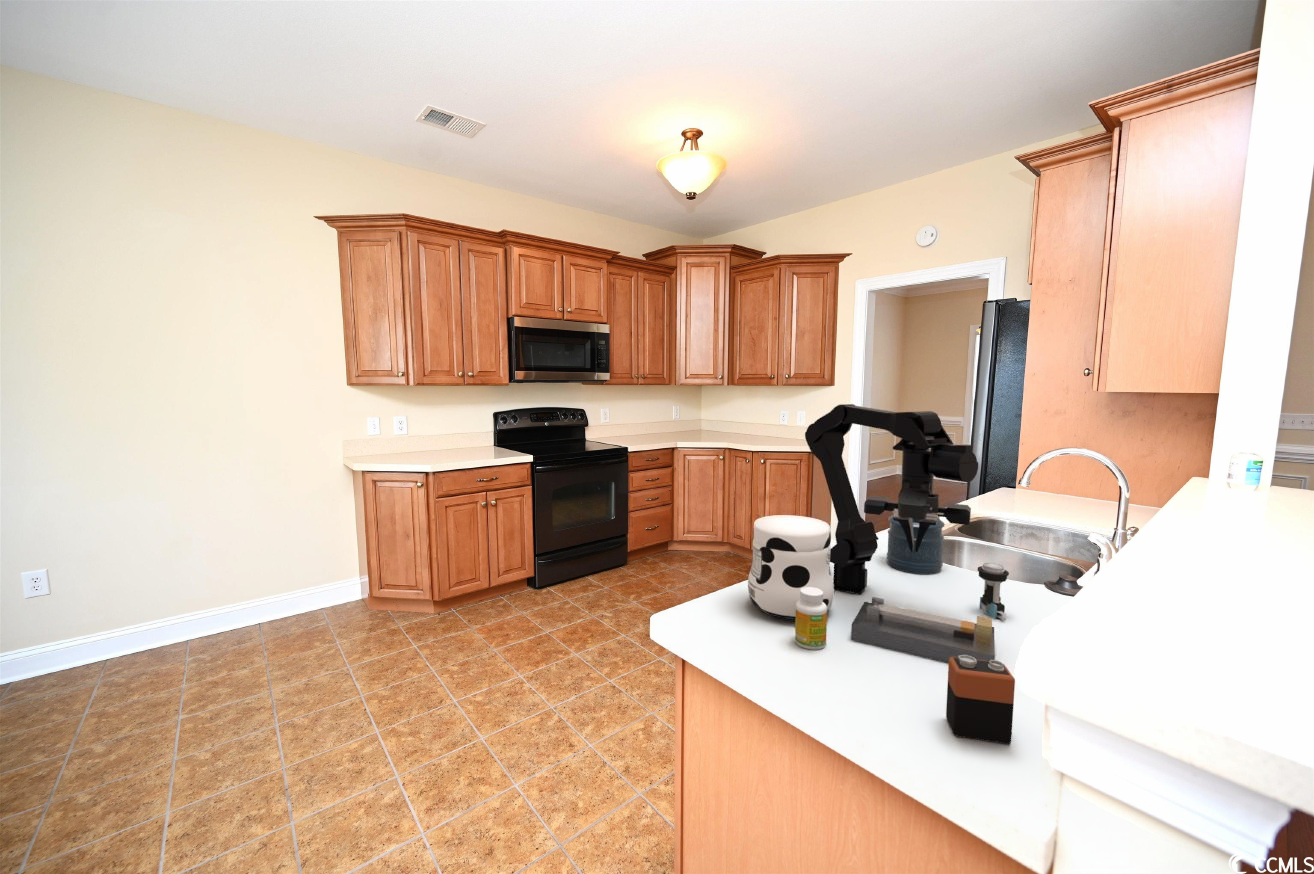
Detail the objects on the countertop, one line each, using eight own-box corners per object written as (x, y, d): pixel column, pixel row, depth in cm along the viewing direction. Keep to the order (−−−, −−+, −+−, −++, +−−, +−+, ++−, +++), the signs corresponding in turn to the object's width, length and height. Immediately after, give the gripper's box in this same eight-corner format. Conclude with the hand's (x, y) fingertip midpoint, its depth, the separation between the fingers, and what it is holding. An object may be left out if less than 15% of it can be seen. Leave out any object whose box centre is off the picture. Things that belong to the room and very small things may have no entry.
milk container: (847, 606, 112) (849, 522, 110) (809, 635, 99) (811, 540, 97) (773, 586, 123) (775, 510, 122) (731, 609, 110) (732, 524, 109)
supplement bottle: (809, 653, 92) (811, 599, 91) (788, 640, 97) (789, 588, 96) (832, 646, 95) (834, 593, 94) (811, 633, 99) (812, 583, 99)
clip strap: (870, 613, 99) (870, 607, 99) (873, 607, 102) (873, 601, 102) (973, 635, 90) (974, 628, 90) (974, 628, 93) (974, 621, 93)
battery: (944, 717, 74) (948, 649, 73) (1000, 725, 72) (1004, 655, 71) (953, 737, 70) (957, 664, 69) (1012, 746, 68) (1016, 672, 67)
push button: (1017, 622, 104) (1020, 572, 103) (990, 622, 104) (992, 572, 103) (995, 607, 111) (997, 561, 110) (969, 608, 111) (972, 561, 110)
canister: (886, 555, 145) (888, 492, 143) (940, 561, 140) (943, 495, 138) (886, 571, 133) (888, 501, 132) (945, 578, 128) (948, 506, 126)
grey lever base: (851, 640, 97) (852, 608, 96) (864, 615, 107) (865, 587, 107) (993, 673, 85) (995, 637, 85) (993, 643, 96) (995, 610, 95)
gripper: (859, 476, 103) (857, 554, 105) (971, 485, 94) (966, 571, 95) (870, 468, 113) (868, 540, 114) (972, 476, 103) (968, 555, 104)
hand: (914, 551), depth 107 cm, fingers closed
